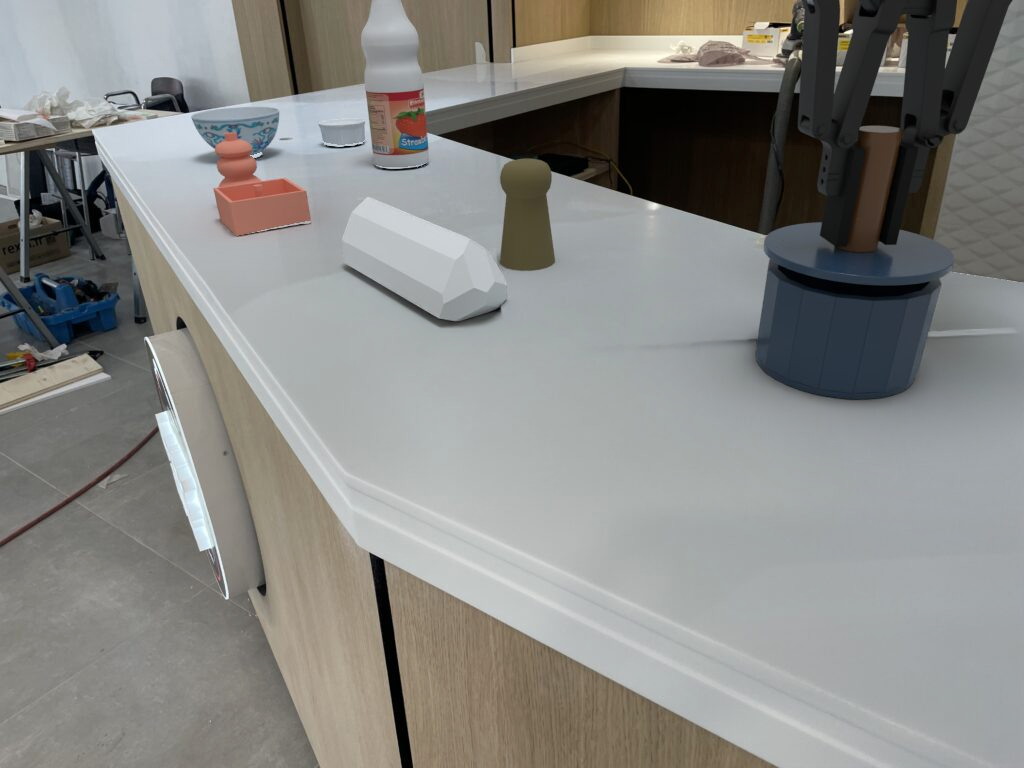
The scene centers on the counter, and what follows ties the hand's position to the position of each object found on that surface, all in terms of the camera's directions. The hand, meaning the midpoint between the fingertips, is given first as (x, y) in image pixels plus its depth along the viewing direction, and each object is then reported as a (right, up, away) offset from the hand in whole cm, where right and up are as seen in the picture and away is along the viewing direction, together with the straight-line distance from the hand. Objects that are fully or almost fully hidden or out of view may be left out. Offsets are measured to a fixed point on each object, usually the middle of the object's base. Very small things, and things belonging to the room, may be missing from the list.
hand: (857, 239), depth 52 cm
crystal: (-34, -1, +22) cm, 40 cm away
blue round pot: (0, -9, +5) cm, 10 cm away
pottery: (-59, +13, +47) cm, 77 cm away
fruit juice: (-43, +27, +73) cm, 89 cm away
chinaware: (-74, +31, +83) cm, 115 cm away
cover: (0, -1, +1) cm, 1 cm away
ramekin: (-57, +36, +91) cm, 114 cm away
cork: (-23, +2, +26) cm, 35 cm away
